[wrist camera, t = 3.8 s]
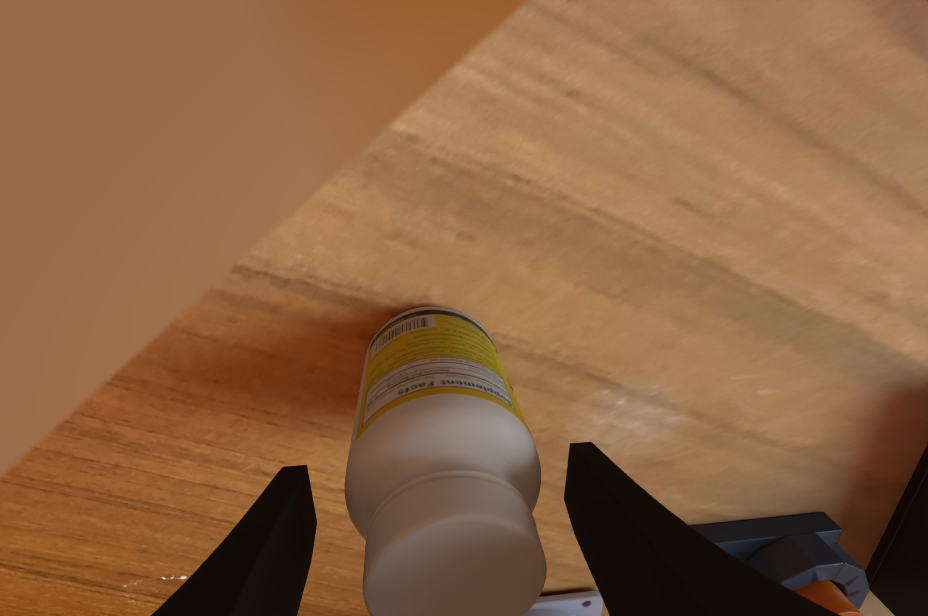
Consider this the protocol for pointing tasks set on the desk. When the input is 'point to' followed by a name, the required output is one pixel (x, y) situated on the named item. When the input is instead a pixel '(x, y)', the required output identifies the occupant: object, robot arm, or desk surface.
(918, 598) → the rack
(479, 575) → the supplement bottle
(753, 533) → the block
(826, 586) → the button
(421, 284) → the desk surface
